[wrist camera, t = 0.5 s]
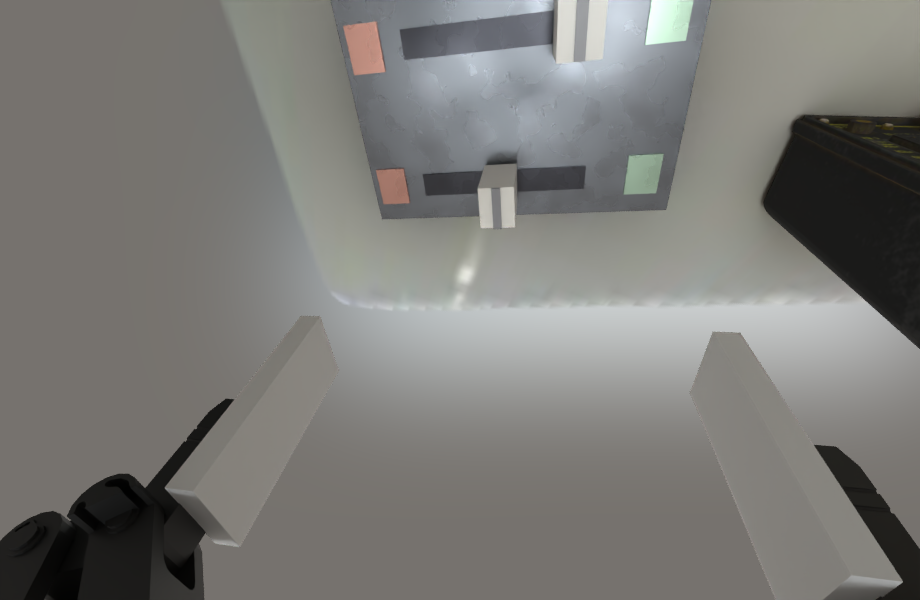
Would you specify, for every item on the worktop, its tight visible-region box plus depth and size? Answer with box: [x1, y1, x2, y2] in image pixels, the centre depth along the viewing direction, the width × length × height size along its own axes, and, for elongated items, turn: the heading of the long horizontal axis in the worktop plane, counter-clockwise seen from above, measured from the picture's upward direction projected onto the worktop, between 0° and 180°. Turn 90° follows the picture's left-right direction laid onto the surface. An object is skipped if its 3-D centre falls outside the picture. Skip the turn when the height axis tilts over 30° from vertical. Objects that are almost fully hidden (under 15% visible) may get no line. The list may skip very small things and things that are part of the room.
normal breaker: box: [553, 0, 608, 64], centre depth 23 cm, size 3×2×5 cm
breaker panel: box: [331, 0, 711, 219], centre depth 30 cm, size 16×24×2 cm, turn 96°
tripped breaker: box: [478, 164, 517, 229], centre depth 30 cm, size 3×2×5 cm
